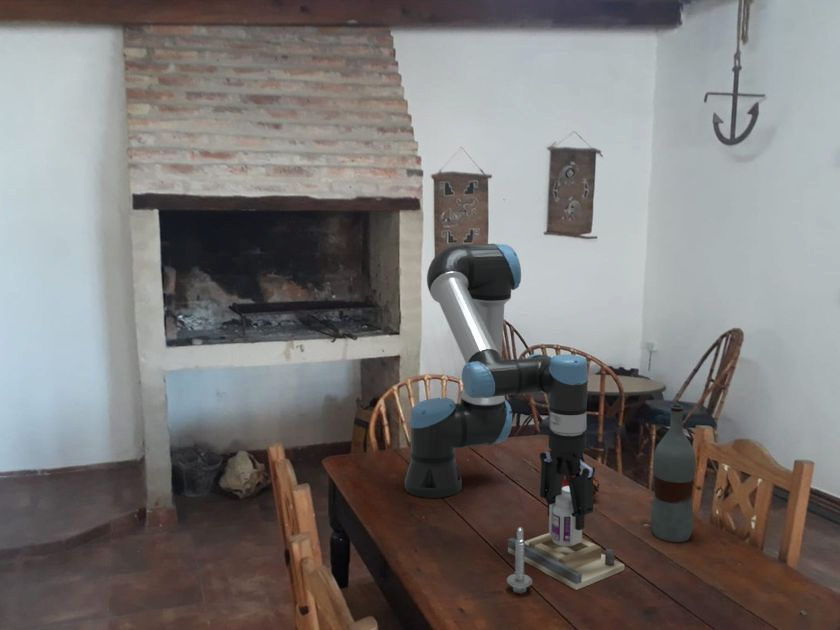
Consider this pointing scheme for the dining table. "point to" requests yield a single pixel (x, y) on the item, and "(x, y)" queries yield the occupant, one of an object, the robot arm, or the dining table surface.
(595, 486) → the dragon fruit
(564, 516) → the pill bottle
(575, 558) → the jig
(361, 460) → the dining table surface
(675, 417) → the vodka
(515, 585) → the screw
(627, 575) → the dining table surface
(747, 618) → the dining table surface
